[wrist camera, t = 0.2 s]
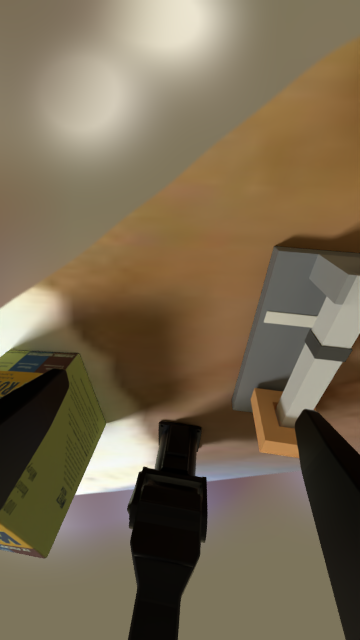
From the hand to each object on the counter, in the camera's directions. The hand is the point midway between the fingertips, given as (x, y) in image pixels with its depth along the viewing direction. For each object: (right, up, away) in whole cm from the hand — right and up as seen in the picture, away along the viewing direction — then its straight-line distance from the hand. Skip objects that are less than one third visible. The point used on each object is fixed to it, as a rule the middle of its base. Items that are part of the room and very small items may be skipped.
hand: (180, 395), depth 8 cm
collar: (+11, -6, +17) cm, 21 cm away
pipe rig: (+12, 0, +15) cm, 19 cm away
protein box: (-18, -7, +25) cm, 31 cm away
